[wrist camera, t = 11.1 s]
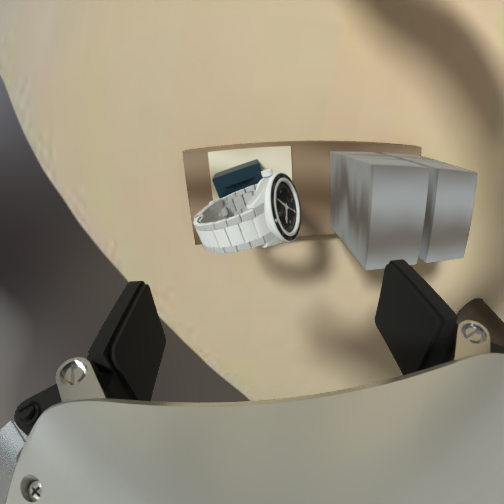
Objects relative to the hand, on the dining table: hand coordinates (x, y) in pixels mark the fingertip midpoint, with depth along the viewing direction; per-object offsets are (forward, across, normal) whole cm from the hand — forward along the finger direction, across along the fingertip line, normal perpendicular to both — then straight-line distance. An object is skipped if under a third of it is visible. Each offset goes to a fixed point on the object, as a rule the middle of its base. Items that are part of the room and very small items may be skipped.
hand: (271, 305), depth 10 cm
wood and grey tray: (+20, -6, 0) cm, 21 cm away
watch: (+19, +1, 0) cm, 19 cm away
